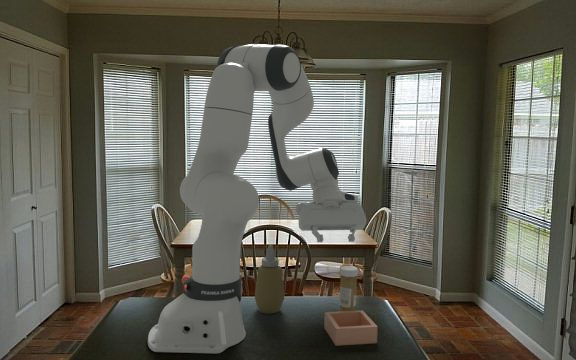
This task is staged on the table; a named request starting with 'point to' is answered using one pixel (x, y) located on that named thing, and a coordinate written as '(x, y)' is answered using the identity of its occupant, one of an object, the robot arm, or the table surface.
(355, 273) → the sprinkles bottle
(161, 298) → the table surface
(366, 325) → the terracotta socket
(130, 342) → the table surface
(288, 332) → the table surface
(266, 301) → the squeeze bottle
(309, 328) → the table surface
